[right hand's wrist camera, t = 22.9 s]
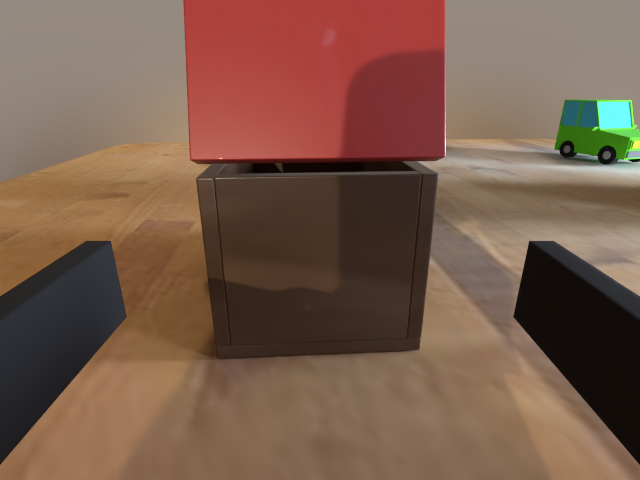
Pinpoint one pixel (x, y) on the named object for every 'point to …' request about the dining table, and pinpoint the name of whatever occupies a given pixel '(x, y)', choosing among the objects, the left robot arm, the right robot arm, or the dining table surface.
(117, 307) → the right robot arm
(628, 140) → the toy car
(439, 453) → the dining table surface
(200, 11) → the lid
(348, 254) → the chest
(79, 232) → the dining table surface
